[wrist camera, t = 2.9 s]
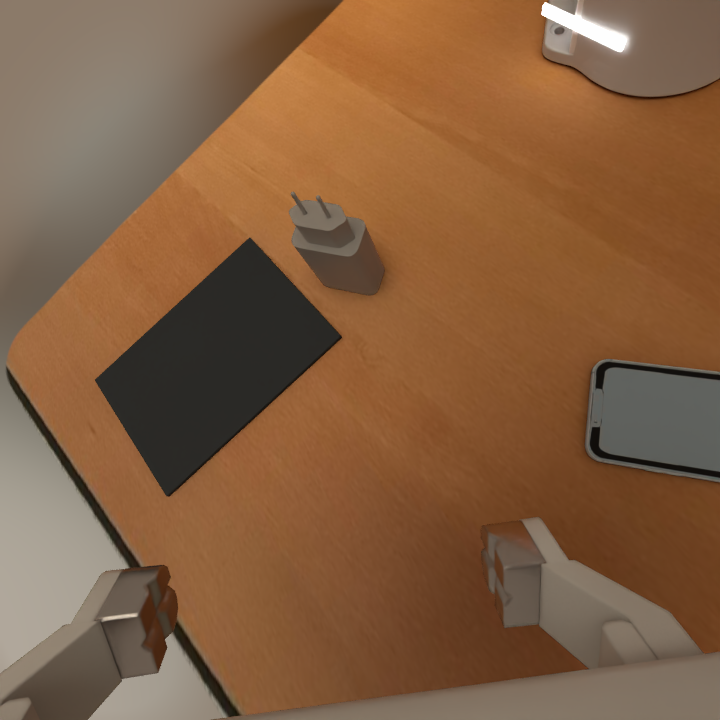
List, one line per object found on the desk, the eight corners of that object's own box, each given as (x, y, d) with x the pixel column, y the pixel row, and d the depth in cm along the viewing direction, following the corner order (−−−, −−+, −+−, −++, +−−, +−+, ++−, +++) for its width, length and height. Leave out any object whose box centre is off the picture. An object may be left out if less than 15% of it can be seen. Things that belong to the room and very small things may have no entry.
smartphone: (855, 505, 29) (585, 459, 33) (845, 505, 30) (582, 460, 34) (851, 386, 30) (594, 356, 34) (841, 388, 31) (591, 359, 35)
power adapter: (330, 253, 43) (276, 169, 32) (386, 264, 42) (350, 178, 30) (319, 285, 43) (260, 209, 31) (376, 296, 41) (335, 222, 30)
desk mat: (251, 239, 46) (249, 237, 45) (342, 337, 41) (340, 335, 40) (97, 380, 46) (94, 379, 45) (169, 496, 41) (166, 496, 40)
